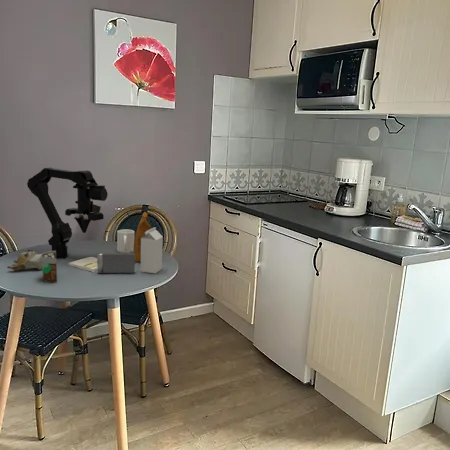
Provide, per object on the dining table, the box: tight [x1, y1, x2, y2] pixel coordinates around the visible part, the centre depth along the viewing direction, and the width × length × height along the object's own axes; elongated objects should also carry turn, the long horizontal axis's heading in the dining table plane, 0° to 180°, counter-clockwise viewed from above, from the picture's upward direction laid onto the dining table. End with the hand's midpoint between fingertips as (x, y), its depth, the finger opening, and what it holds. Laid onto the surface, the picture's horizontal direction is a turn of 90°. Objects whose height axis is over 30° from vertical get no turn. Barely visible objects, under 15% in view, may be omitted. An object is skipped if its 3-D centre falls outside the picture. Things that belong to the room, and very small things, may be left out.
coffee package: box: [132, 211, 153, 263], centre depth 215 cm, size 10×12×22 cm
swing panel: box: [96, 252, 136, 274], centre depth 194 cm, size 15×3×8 cm, turn 101°
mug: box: [116, 228, 135, 253], centre depth 226 cm, size 12×8×10 cm
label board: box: [68, 256, 97, 273], centre depth 203 cm, size 15×13×2 cm
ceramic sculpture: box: [6, 249, 43, 271], centre depth 193 cm, size 11×9×15 cm
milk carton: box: [139, 226, 164, 274], centre depth 199 cm, size 7×7×19 cm
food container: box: [40, 250, 58, 283], centre depth 182 cm, size 12×6×10 cm, turn 21°
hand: (84, 232), depth 208 cm, fingers closed
